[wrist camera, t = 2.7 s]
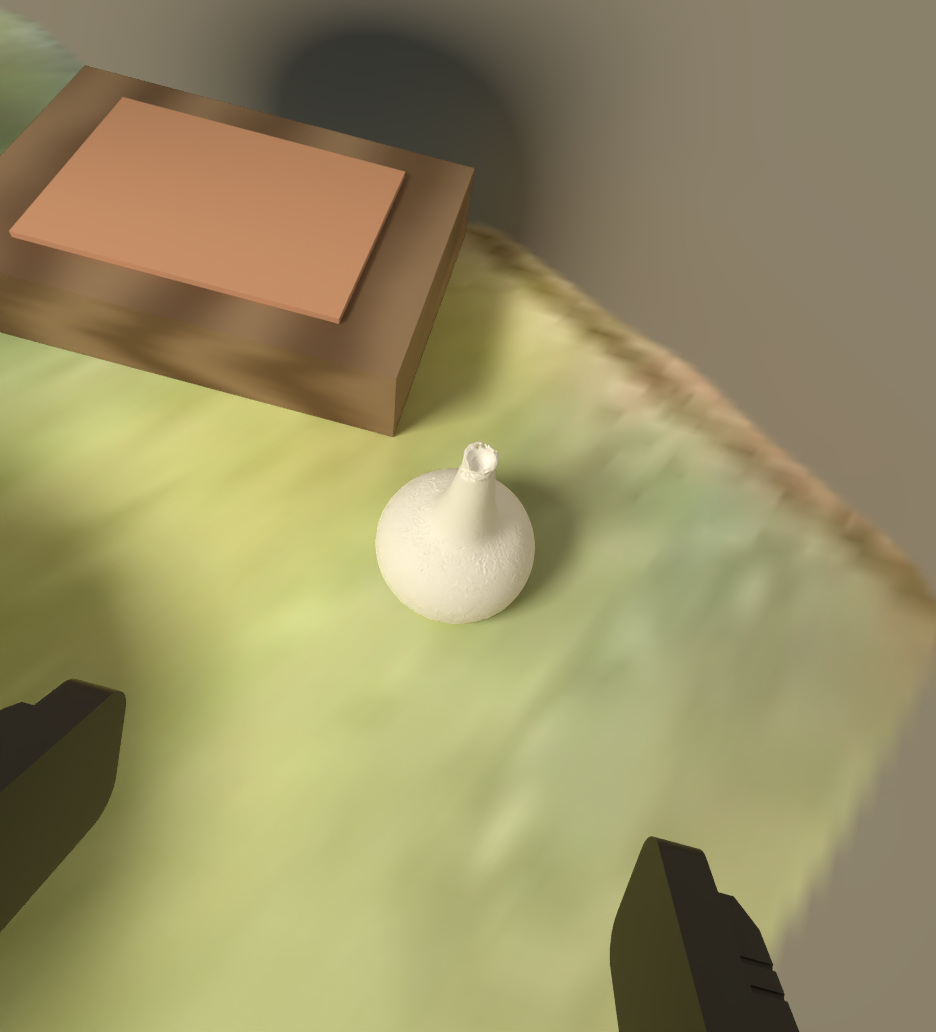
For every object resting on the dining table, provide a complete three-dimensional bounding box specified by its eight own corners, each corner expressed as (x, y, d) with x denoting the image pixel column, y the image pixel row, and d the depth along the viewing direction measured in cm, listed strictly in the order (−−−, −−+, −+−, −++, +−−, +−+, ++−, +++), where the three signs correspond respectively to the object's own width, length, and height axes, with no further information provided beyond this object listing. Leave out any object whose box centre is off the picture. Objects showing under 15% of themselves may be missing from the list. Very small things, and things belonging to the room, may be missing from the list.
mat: (11, 237, 30) (8, 230, 29) (124, 103, 34) (122, 97, 34) (339, 324, 29) (339, 318, 29) (405, 177, 34) (405, 171, 34)
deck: (-39, 321, 32) (-88, 250, 29) (110, 140, 39) (84, 65, 35) (392, 436, 32) (396, 378, 28) (464, 234, 39) (474, 168, 35)
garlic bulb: (347, 580, 29) (326, 494, 22) (429, 466, 31) (435, 354, 24) (480, 662, 28) (505, 600, 21) (554, 537, 30) (600, 443, 23)
